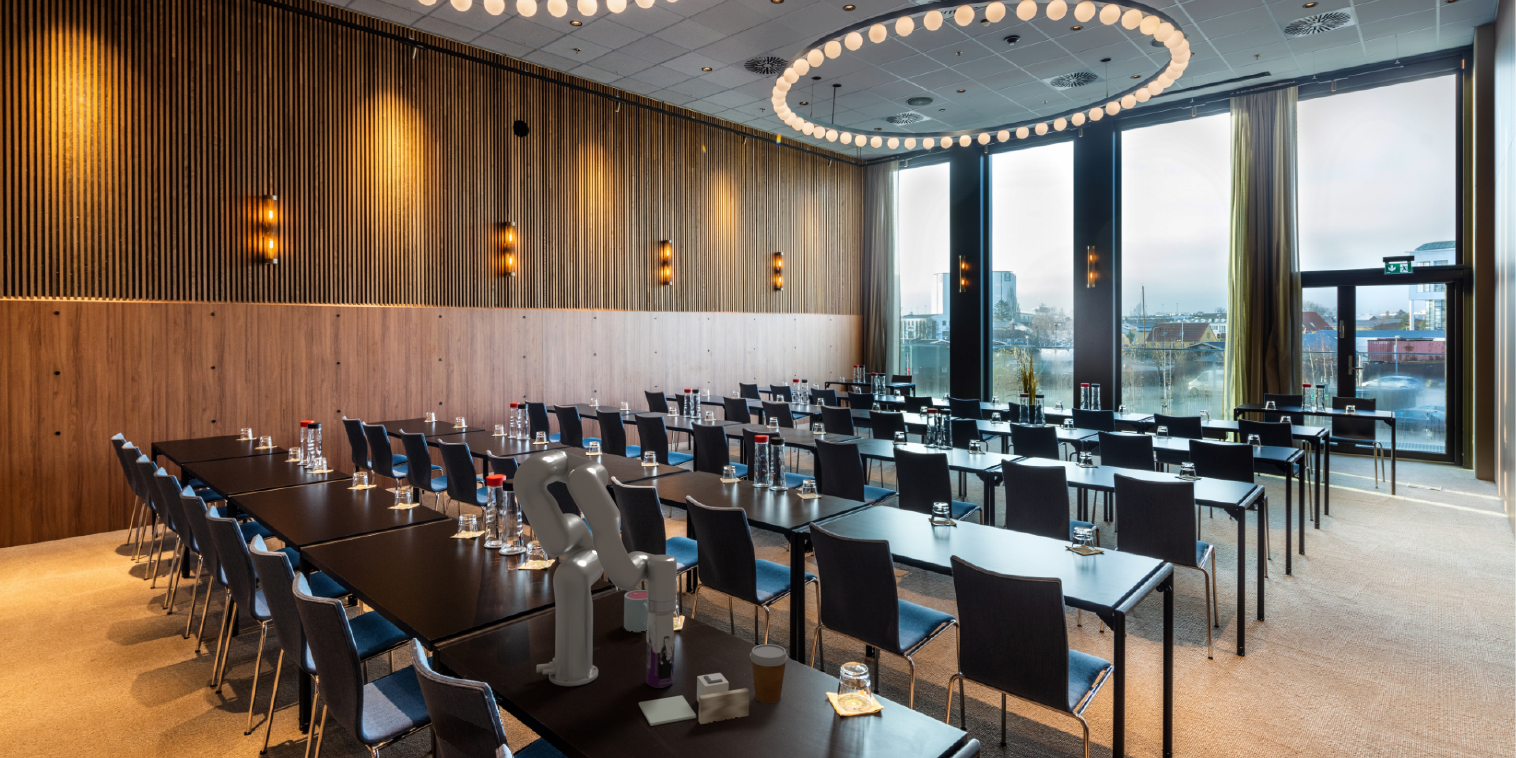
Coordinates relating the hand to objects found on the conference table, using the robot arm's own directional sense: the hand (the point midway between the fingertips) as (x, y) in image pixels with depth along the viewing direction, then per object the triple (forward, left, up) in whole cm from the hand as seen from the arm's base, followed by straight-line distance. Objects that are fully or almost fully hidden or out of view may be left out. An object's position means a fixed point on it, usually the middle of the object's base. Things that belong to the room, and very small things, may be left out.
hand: (660, 671), depth 198 cm
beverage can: (0, 0, -3) cm, 3 cm away
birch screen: (+9, -23, -3) cm, 25 cm away
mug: (+5, +39, -3) cm, 39 cm away
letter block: (+9, -15, -3) cm, 18 cm away
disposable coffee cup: (+23, -17, -3) cm, 29 cm away
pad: (-3, -15, -3) cm, 16 cm away
